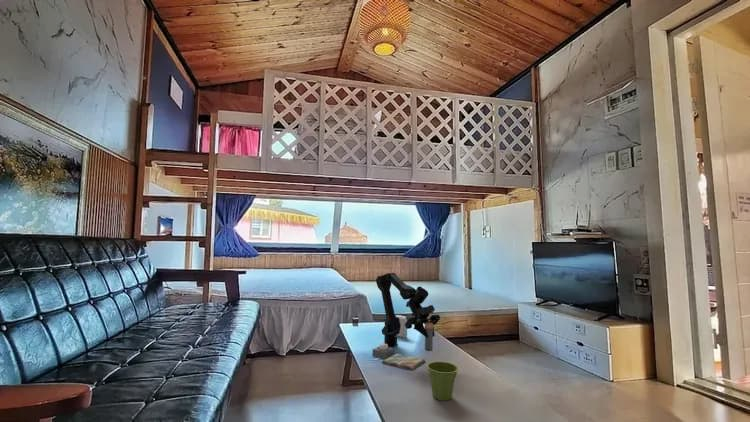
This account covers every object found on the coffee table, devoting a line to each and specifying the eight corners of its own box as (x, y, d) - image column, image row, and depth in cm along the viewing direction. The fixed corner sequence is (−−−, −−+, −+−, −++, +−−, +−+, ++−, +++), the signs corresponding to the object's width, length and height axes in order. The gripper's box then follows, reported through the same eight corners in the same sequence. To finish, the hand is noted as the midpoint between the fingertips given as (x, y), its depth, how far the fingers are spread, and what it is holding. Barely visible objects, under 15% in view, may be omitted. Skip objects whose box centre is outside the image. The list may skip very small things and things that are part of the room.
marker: (423, 350, 175) (423, 323, 176) (427, 348, 178) (427, 322, 179) (430, 351, 173) (430, 324, 173) (434, 349, 176) (434, 323, 176)
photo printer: (391, 334, 225) (391, 314, 226) (396, 333, 228) (396, 313, 229) (403, 338, 217) (403, 317, 218) (408, 337, 220) (408, 316, 221)
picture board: (382, 363, 175) (382, 360, 175) (396, 355, 186) (396, 352, 186) (412, 370, 166) (412, 367, 166) (425, 361, 178) (425, 358, 178)
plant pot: (438, 406, 131) (438, 374, 132) (421, 393, 142) (421, 363, 143) (464, 400, 136) (464, 369, 137) (446, 388, 147) (446, 359, 148)
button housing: (372, 355, 186) (372, 349, 186) (380, 351, 193) (380, 345, 193) (386, 358, 182) (386, 352, 182) (393, 354, 188) (394, 348, 188)
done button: (377, 351, 186) (377, 345, 187) (381, 348, 190) (382, 343, 190) (384, 352, 184) (384, 346, 184) (389, 350, 188) (389, 344, 188)
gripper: (408, 301, 175) (423, 329, 165) (438, 298, 185) (453, 325, 175) (399, 314, 182) (412, 342, 171) (428, 311, 191) (442, 337, 181)
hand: (430, 336), depth 175 cm, fingers closed on marker, 4 cm apart
